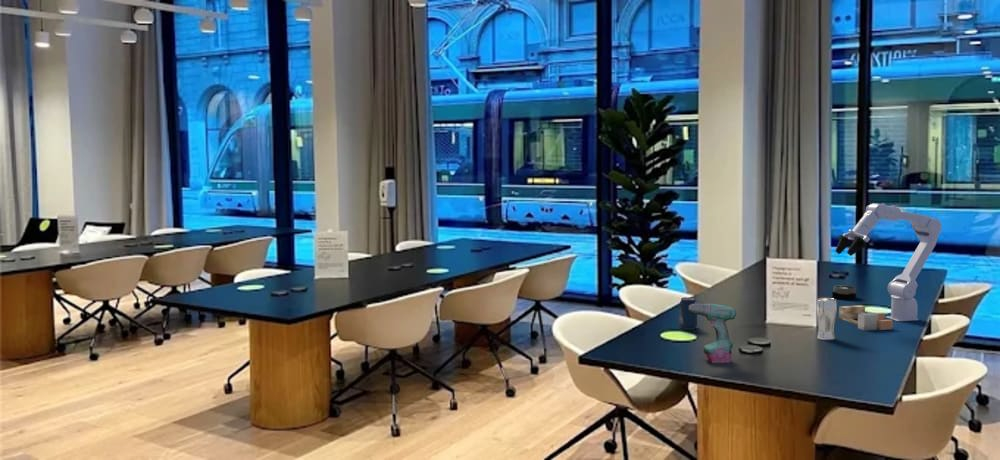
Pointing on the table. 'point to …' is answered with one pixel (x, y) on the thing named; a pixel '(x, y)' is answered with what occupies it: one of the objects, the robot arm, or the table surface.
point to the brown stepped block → (884, 322)
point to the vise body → (851, 313)
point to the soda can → (687, 313)
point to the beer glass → (826, 318)
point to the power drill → (717, 330)
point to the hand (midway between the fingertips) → (843, 253)
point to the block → (868, 321)
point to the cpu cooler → (844, 292)
